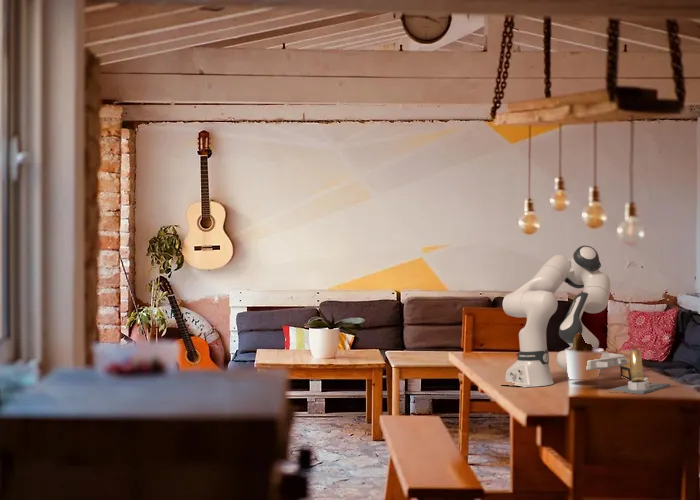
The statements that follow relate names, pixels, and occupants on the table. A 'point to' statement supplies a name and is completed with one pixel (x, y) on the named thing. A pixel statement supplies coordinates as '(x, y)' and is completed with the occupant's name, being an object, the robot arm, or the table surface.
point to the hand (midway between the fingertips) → (617, 363)
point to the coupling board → (651, 388)
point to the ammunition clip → (626, 365)
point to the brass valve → (636, 363)
